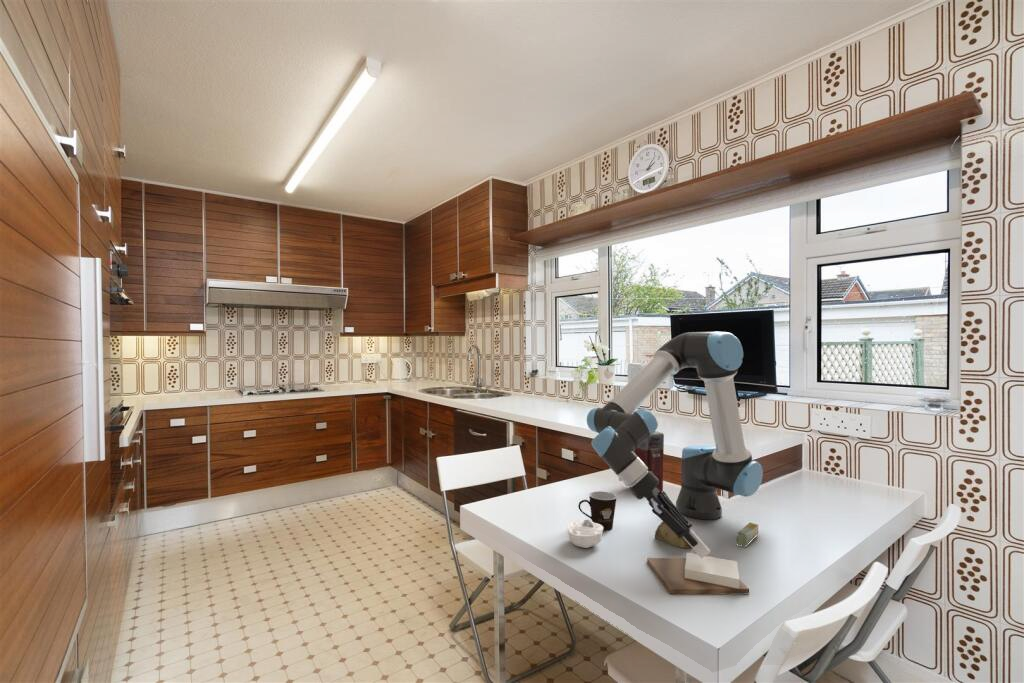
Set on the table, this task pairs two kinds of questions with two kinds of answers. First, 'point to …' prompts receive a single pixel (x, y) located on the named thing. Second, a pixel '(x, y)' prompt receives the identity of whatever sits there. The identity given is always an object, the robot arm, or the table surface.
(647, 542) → the table surface
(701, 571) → the tile
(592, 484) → the table surface
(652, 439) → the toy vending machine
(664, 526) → the rock
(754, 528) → the medication box
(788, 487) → the table surface
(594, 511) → the coffee mug
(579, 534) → the cell model
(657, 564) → the board
